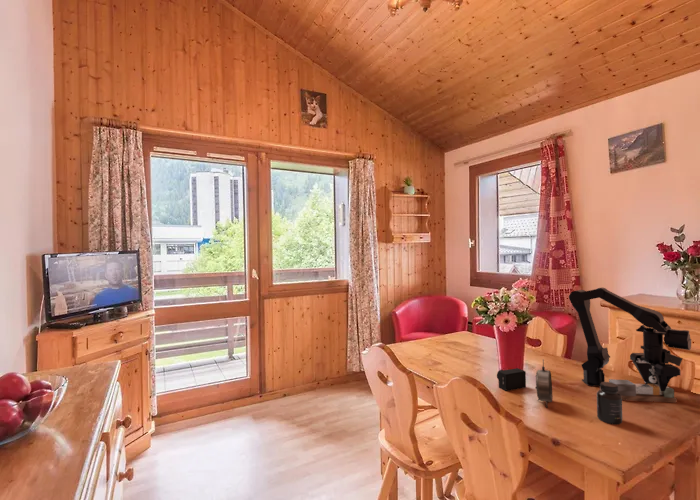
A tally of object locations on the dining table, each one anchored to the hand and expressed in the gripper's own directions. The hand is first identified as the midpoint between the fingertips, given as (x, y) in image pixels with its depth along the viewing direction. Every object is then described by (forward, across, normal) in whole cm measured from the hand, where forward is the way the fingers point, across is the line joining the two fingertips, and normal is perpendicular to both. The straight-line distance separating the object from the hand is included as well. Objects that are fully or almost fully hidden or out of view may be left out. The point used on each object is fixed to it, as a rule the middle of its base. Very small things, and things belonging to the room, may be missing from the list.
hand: (654, 386), depth 134 cm
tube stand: (+5, 0, +5) cm, 7 cm away
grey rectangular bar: (+3, 0, +2) cm, 4 cm away
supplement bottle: (+5, -20, +26) cm, 33 cm away
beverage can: (+5, +14, -8) cm, 17 cm away
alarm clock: (+5, -8, +42) cm, 43 cm away
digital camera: (+5, +6, +49) cm, 50 cm away
